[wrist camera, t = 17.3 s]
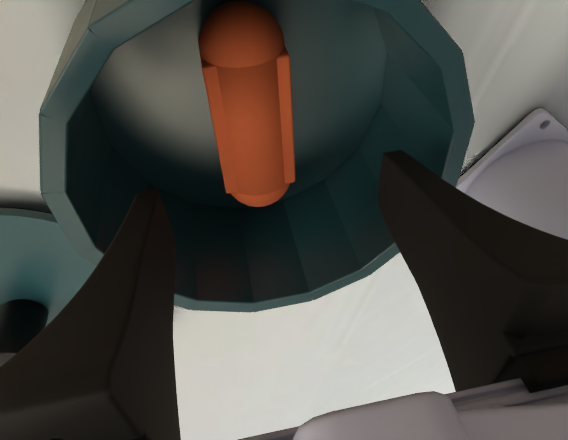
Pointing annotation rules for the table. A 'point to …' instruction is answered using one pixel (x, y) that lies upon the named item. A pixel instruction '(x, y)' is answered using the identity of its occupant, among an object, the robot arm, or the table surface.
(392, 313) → the table surface
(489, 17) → the table surface
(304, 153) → the pot
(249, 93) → the hot dog
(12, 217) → the pot lid
